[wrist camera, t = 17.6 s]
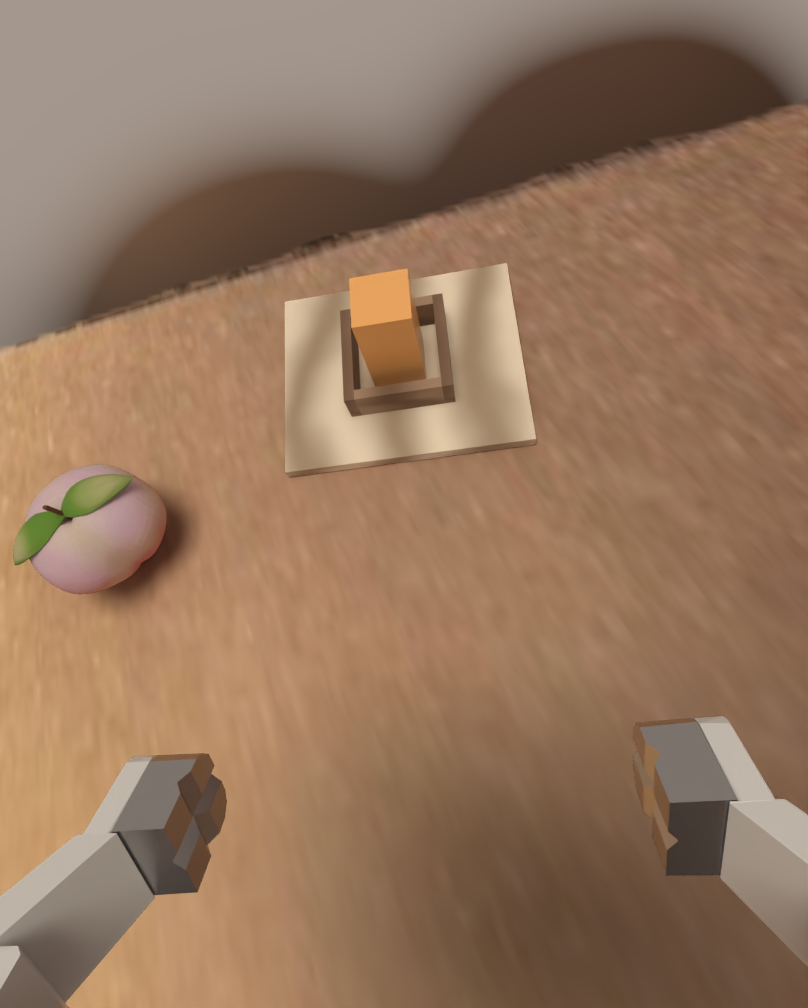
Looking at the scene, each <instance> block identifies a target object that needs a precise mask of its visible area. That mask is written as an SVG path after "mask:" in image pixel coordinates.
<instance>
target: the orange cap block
mask: <svg viewBox="0 0 808 1008" xmlns="http://www.w3.org/2000/svg"><path fill="white" fill-rule="evenodd" d="M349 284H350V307H351V328H352V331H353V333H354V336H355V338H356V341H357V343H358V345H359V348H360V350H361V353H362V355H363V358H364V360H365V363H366V365H367V368H368V370H369V373H370V375H371V378H372V380H373V382H374V385H375V387H377V386H384V385H390V384H397V383H404V382H410V381H417V380H423V379H427V377H426V367H425V356H424V345H423V337H422V333H421V328H420V324H419V319H418V314H417V310H416V305H415V301H414V296H413V292H412V287H411V282H410V278H409V273H408V269H402V270H396V271H390V272H385V273H379V274H373V275H367V276H362V277H356V278H350V279H349Z"/></svg>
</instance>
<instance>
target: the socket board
mask: <svg viewBox="0 0 808 1008" xmlns="http://www.w3.org/2000/svg"><path fill="white" fill-rule="evenodd" d="M410 282H411V287H412V292H413V296H414V301H415V305H416V310H417V314H418V319H419V324H420V328H421V333H422V337H423V345H424V356H425V367H426V377H427V379H423V380H417V381H410V382H404V383H397V384H390V385H384V386H377V387H375V385H374V382H373V380H372V378H371V375H370V373H369V370H368V368H367V365H366V363H365V360H364V358H363V355H362V353H361V350H360V348H359V345H358V343H357V341H356V338H355V336H354V333H353V331H352V328H351V307H350V291H345V292H339V293H333V294H328V295H322V296H316V297H311V298H305V299H299V300H293V301H288V302H285V473H286V474H287V475H288V476H289V477H296V476H303V475H311V474H318V473H326V472H333V471H341V470H348V469H356V468H363V467H371V466H378V465H386V464H393V463H401V462H408V461H416V460H423V459H431V458H438V457H446V456H454V455H461V454H469V453H476V452H484V451H491V450H499V449H506V448H514V447H521V446H529V445H535V443H536V435H535V429H534V423H533V418H532V412H531V406H530V400H529V394H528V388H527V382H526V376H525V370H524V364H523V358H522V352H521V346H520V340H519V334H518V328H517V322H516V316H515V310H514V304H513V298H512V292H511V286H510V280H509V274H508V268H507V263H505V264H499V265H493V266H488V267H482V268H476V269H471V270H465V271H459V272H453V273H448V274H442V275H436V276H431V277H425V278H419V279H413V280H410Z"/></svg>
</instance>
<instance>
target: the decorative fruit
mask: <svg viewBox="0 0 808 1008" xmlns="http://www.w3.org/2000/svg"><path fill="white" fill-rule="evenodd" d="M166 522H167V514H166V508H165V505H164V502H163V500H162V498H161V497H160V495H159V494H158V493H157V492H156V491H155V490H154V489H153V488H152V487H151V486H149V485H148V484H147V483H145V482H144V481H142V480H141V479H139V478H137V477H136V476H134V475H132V474H130V473H129V472H127V471H125V470H122V469H120V468H117V467H114V466H110V465H101V464H95V465H87V466H82V467H78V468H75V469H72V470H70V471H67V472H65V473H63V474H62V475H60V476H59V477H57V478H56V479H54V480H53V481H52V482H51V483H49V484H48V485H47V486H46V487H45V488H44V489H43V490H42V491H41V492H40V493H39V494H38V495H37V496H36V498H35V499H34V500H33V502H32V504H31V506H30V508H29V510H28V512H27V515H26V518H25V523H24V525H23V526H22V528H21V529H20V531H19V532H18V534H17V537H16V540H15V544H14V549H13V559H14V563H15V565H19V564H21V563H23V562H25V561H26V560H28V559H30V561H31V563H32V565H33V566H34V568H35V569H36V570H37V572H38V573H39V574H40V575H41V576H42V577H43V578H44V579H46V580H47V581H48V582H49V583H51V584H52V585H54V586H55V587H57V588H59V589H61V590H63V591H66V592H69V593H73V594H90V593H95V592H99V591H102V590H105V589H107V588H109V587H112V586H114V585H116V584H118V583H120V582H122V581H124V580H125V579H127V578H128V577H130V576H131V575H132V574H133V573H134V572H135V571H136V570H137V569H138V568H139V566H140V564H141V563H142V562H143V561H145V560H147V559H149V558H150V557H151V556H152V555H153V554H154V553H155V552H156V551H157V549H158V547H159V545H160V543H161V541H162V538H163V536H164V532H165V528H166Z"/></svg>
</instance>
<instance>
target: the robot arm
mask: <svg viewBox="0 0 808 1008" xmlns="http://www.w3.org/2000/svg"><path fill="white" fill-rule="evenodd" d="M633 739H634V742H635V745H636V748H637V752H636V753H635V754H634V755H633V772H634V779H635V785H636V789H637V793H638V796H639V800H640V803H641V806H642V809H643V812H644V813H646V814H647V815H648V816H649V817H650V818H651V819H652V838H653V840H654V843H655V846H656V849H657V852H658V855H659V857H660V860H661V863H662V866H663V869H664V871H665V874H666V876H687V875H720V878H721V879H722V881H723V882H724V883H725V884H726V885H727V886H728V887H729V888H730V889H731V890H732V891H733V892H734V893H735V894H736V895H737V896H738V897H739V898H740V899H741V900H742V901H743V902H744V903H745V904H746V905H747V906H748V907H749V908H750V909H751V910H752V911H753V912H754V913H755V914H756V915H757V916H758V917H759V918H760V919H761V920H762V921H763V922H764V923H765V924H766V925H767V926H768V927H769V928H770V929H771V931H772V932H773V933H774V934H775V935H776V936H777V937H778V938H779V939H780V940H781V941H782V942H783V943H784V944H785V945H786V946H787V947H788V948H789V949H790V950H791V951H792V952H793V953H794V954H795V955H796V956H797V957H798V958H799V959H800V960H801V961H802V962H803V963H804V964H805V965H806V966H807V967H808V815H807V814H806V813H805V812H803V811H802V810H800V809H799V808H797V807H796V806H795V805H793V804H792V803H790V802H789V801H787V800H786V799H775V797H774V796H773V794H772V792H771V791H770V789H769V787H768V786H767V784H766V782H765V781H764V779H763V777H762V776H761V774H760V772H759V771H758V769H757V767H756V765H755V764H754V762H753V760H752V759H751V757H750V755H749V754H748V752H747V750H746V749H745V747H744V745H743V744H742V742H741V740H740V739H739V737H738V735H737V733H736V732H735V730H734V728H733V727H732V725H731V723H730V722H729V720H727V719H726V718H725V717H724V716H719V717H706V718H694V719H691V718H687V719H675V720H662V721H650V722H638V723H635V724H634V727H633ZM213 768H214V763H213V761H212V760H211V758H210V756H209V754H203V753H201V754H176V755H157V756H137V757H133V758H132V759H130V760H129V761H128V762H127V763H126V764H125V765H124V767H123V769H122V770H121V772H120V774H119V775H118V777H117V779H116V780H115V782H114V784H113V785H112V787H111V789H110V790H109V792H108V794H107V795H106V797H105V799H104V800H103V802H102V804H101V805H100V807H99V809H98V810H97V812H96V814H95V815H94V817H93V819H92V820H91V822H90V824H89V825H88V827H87V829H86V830H85V832H84V834H82V835H75V836H74V837H73V838H72V839H70V840H69V841H68V842H67V843H65V844H64V845H63V846H62V847H61V848H59V849H58V850H57V851H56V852H54V853H53V854H52V855H51V856H49V857H48V858H47V859H46V860H45V861H43V862H42V863H41V864H40V865H38V866H37V867H36V868H35V869H34V870H32V871H31V872H30V873H29V874H27V875H26V876H25V877H24V878H22V879H21V880H20V881H19V882H18V883H16V884H15V885H14V886H13V887H11V888H10V889H9V890H8V891H7V892H5V893H4V894H3V895H2V896H0V1008H69V1007H68V1006H67V1005H66V1001H67V1000H68V999H69V998H70V997H71V995H72V994H73V993H74V992H75V991H76V990H77V988H78V987H79V986H80V985H81V984H82V983H83V981H84V980H85V979H86V978H87V977H88V976H89V974H90V973H91V972H92V971H93V970H94V969H95V967H96V966H97V965H98V964H99V963H100V962H101V960H102V959H103V958H104V957H105V956H106V955H107V953H108V952H109V951H110V950H111V949H112V948H113V946H114V945H115V944H116V943H117V942H118V940H119V939H120V938H121V937H122V936H123V935H124V933H125V932H126V931H127V930H128V929H129V928H130V926H131V925H132V924H133V923H134V922H135V921H136V919H137V918H138V917H139V916H140V915H141V914H142V912H143V911H144V910H145V909H146V908H147V907H148V905H149V904H150V903H151V902H152V901H153V900H154V898H155V897H154V895H164V894H179V893H194V892H198V890H199V887H200V884H201V882H202V879H203V876H204V874H205V871H206V868H207V866H208V863H209V860H210V858H211V854H210V850H209V847H208V844H209V843H210V842H211V841H212V840H213V839H214V838H215V837H216V836H217V835H218V834H219V833H220V830H221V828H222V825H223V822H224V819H225V812H226V804H227V799H226V792H225V788H224V786H223V784H222V781H221V780H219V779H218V778H216V777H215V776H213V775H212V774H211V773H212V770H213Z"/></svg>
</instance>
